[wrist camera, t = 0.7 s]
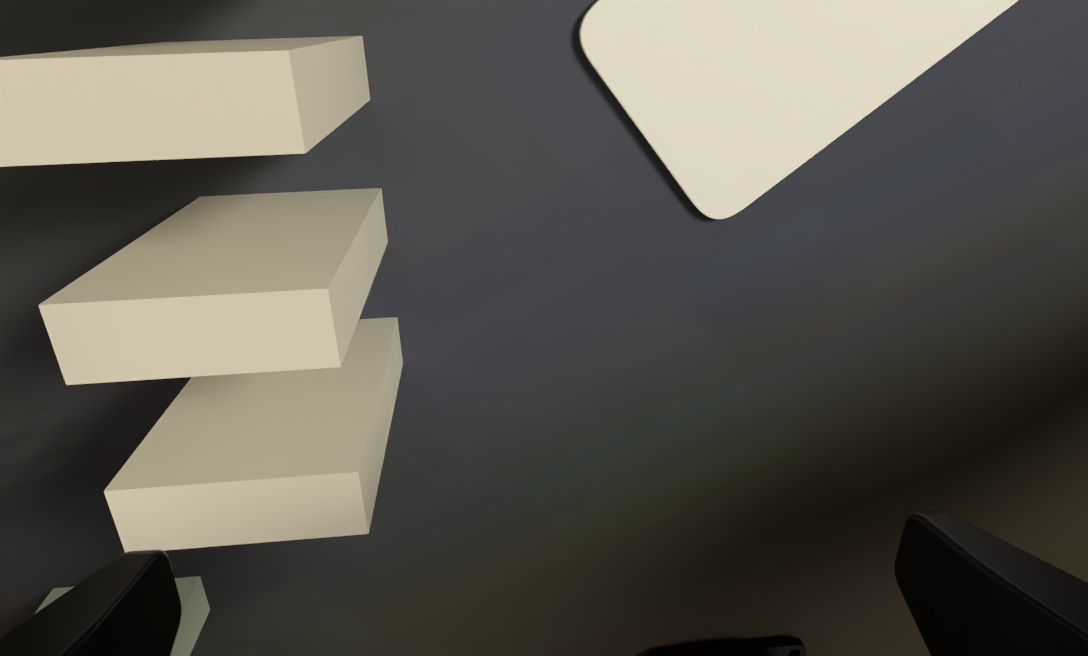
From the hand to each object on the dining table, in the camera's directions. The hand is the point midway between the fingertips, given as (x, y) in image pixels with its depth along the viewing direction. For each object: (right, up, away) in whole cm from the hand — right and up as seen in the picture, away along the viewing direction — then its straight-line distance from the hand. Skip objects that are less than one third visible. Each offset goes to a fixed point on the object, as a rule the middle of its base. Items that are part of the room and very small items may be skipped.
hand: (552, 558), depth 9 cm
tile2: (-7, +2, +13) cm, 15 cm away
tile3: (-7, +6, +12) cm, 15 cm away
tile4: (-7, +10, +10) cm, 16 cm away
